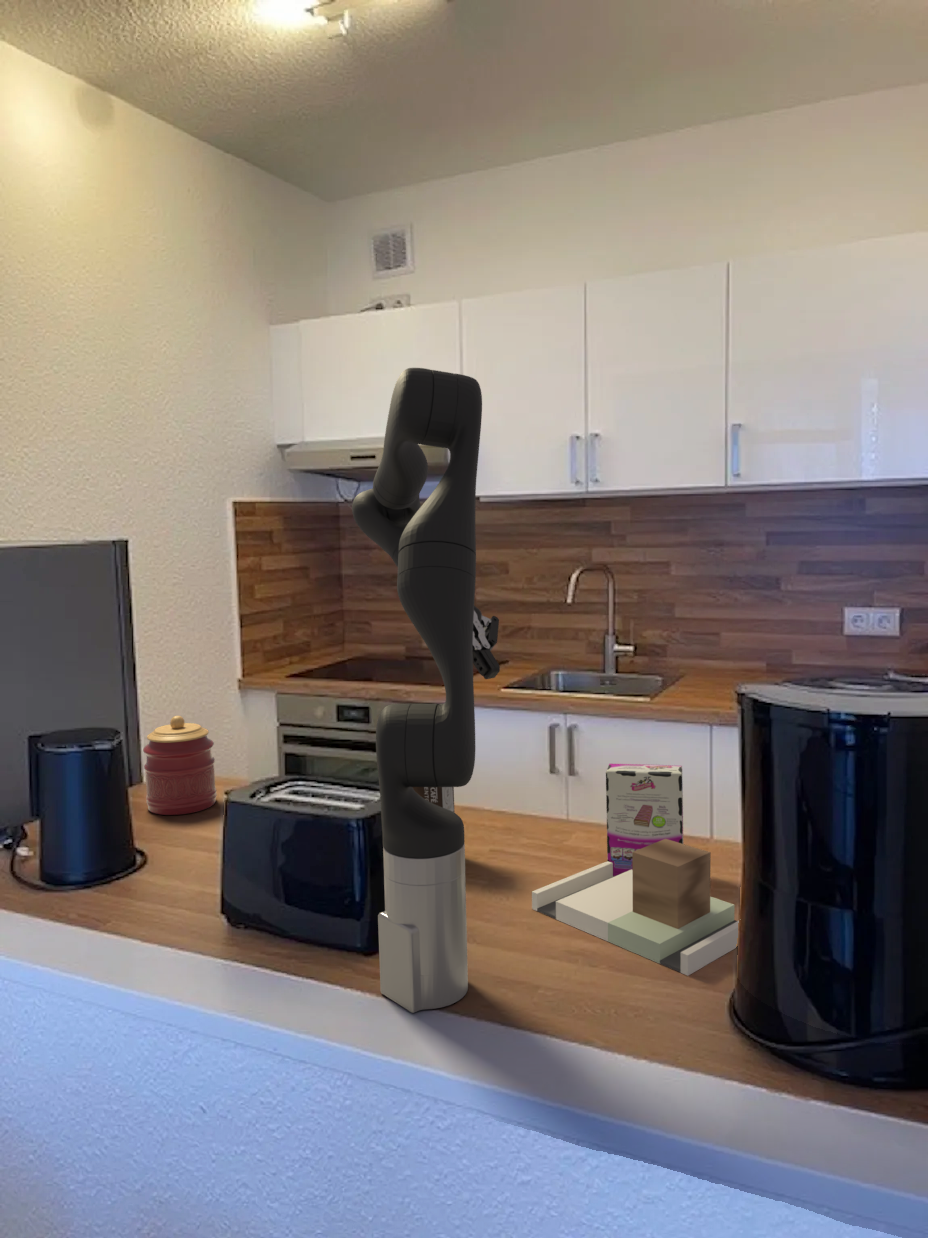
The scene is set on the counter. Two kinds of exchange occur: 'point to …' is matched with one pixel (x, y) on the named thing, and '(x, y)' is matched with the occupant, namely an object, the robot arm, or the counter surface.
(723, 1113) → the counter surface
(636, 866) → the walnut block
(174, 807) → the canister
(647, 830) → the candy bar box
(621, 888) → the platform
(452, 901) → the robot arm
